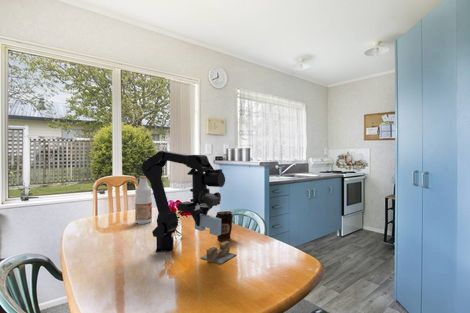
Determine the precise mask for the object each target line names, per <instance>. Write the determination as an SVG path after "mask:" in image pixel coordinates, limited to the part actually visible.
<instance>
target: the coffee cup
mask: <svg viewBox="0 0 470 313" xmlns="http://www.w3.org/2000/svg"><path fill="white" fill-rule="evenodd" d="M215 217H216V218H220V219H221V235H219V236H217V241H221V242H225V241H228V242H230V241H231V239H232V238H231V233H232V228H233V217H234V215H233V213H232V211H228V210H224V211H223V210H222V211H217V212H216V215H215Z"/></svg>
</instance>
